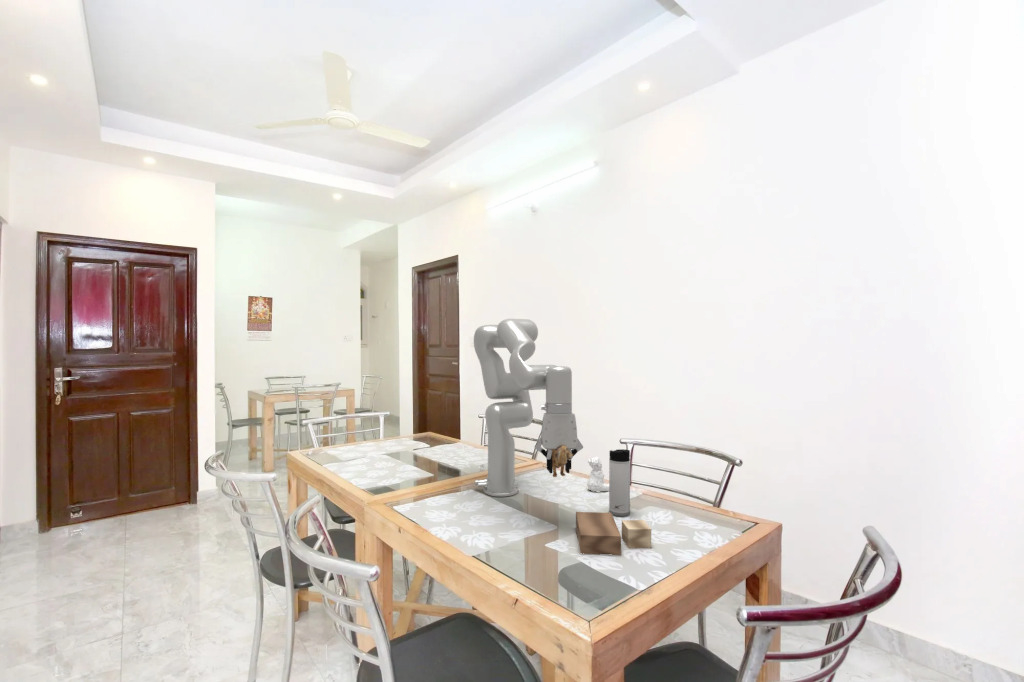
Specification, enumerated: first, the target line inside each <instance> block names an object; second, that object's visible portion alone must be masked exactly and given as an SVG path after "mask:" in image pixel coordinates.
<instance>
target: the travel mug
mask: <svg viewBox="0 0 1024 682" xmlns="http://www.w3.org/2000/svg"><path fill="white" fill-rule="evenodd" d="M630 454H631V452H630V450H629V449H615V450H614V449H613V450H612V449H611V450H609V462H608V463H609V464H608V466H609V471H608V473H609V476H608V478H609V479H608V480H609V481H608V484H609V492H608V493H609V495H608V498H609V499H608V500H609V502H608V503H609V504H608V511H609V512H608V513H612V516H613V517H614V516H615V517H618V518H619V517H621V518H623V517H624V518H625V517H628V516H629V515H630V514H631V510H630V509H631V459H630V457H631V455H630Z"/></svg>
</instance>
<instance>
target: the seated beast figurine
mask: <svg viewBox="0 0 1024 682" xmlns="http://www.w3.org/2000/svg"><path fill="white" fill-rule="evenodd" d="M587 463H588V464H589V465H588V466H590V467H591V469H592V470H591V471H590V473H589V475H590V476H589V477H588V480H587V483H586V485H587V488H588V490H589V491H590V490H591V491H590V492H593V491H609V483H606V482H605V479H604V477H605V474H604V472H603V469H602V468H603V464H602V461H601V460H600V458H599V457H598V456H593V457H591V458H587Z"/></svg>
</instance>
